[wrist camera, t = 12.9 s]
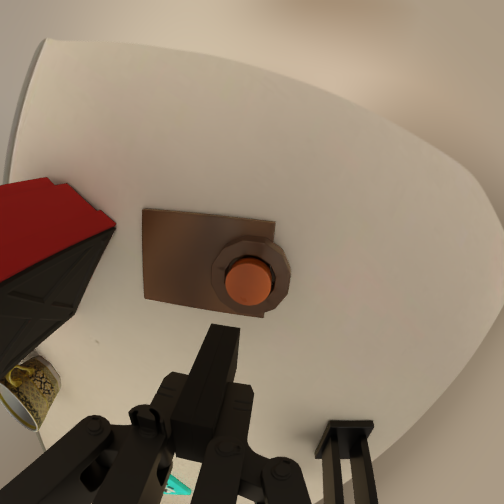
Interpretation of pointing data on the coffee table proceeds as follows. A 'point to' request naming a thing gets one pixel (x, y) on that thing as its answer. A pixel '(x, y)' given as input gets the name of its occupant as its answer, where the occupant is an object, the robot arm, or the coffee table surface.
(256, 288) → the button
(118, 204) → the coffee table surface
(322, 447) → the bracket
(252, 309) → the button block
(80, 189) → the coffee table surface
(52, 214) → the jerry can
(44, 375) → the ceramic cup
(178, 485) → the handheld game console
